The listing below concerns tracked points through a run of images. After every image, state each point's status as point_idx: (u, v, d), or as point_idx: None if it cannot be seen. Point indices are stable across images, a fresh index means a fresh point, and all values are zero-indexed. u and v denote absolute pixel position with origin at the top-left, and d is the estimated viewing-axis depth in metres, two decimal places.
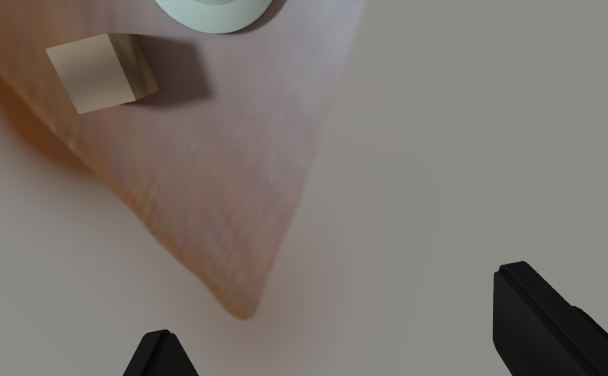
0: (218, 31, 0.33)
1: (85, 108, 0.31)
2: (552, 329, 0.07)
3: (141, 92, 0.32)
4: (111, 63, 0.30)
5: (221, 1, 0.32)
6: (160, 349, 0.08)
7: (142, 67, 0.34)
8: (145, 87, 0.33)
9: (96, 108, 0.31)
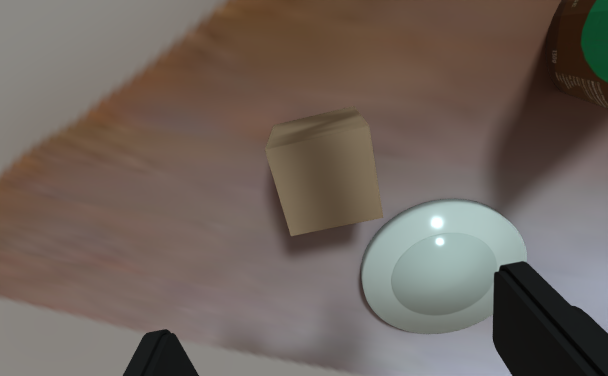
0: (364, 278, 0.28)
1: (274, 162, 0.19)
2: (552, 329, 0.07)
3: None
4: (343, 215, 0.20)
5: (394, 285, 0.28)
6: (160, 349, 0.08)
7: None
8: None
9: (276, 179, 0.19)
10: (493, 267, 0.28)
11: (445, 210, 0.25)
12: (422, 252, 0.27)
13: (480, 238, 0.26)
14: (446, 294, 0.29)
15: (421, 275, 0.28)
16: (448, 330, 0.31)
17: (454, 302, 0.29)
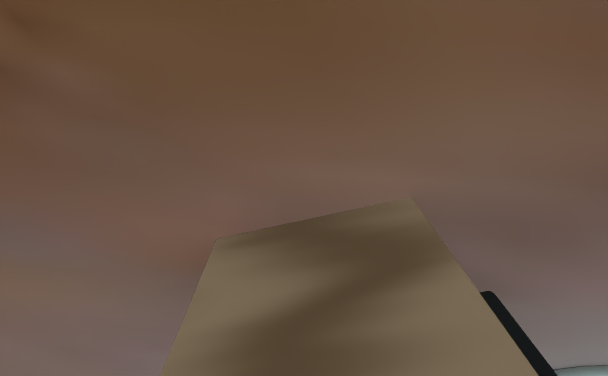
0: None
1: None
2: None
3: None
4: None
5: None
6: None
7: None
8: None
9: None
10: None
11: None
12: None
13: None
14: None
15: None
16: None
17: None
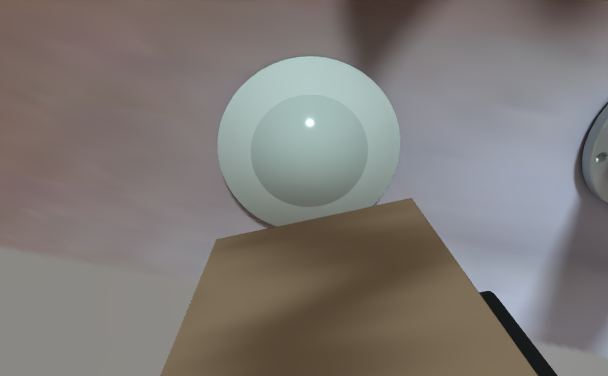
0: (221, 159, 0.25)
1: None
2: None
3: None
4: None
5: (256, 166, 0.25)
6: None
7: None
8: None
9: None
10: (363, 141, 0.24)
11: (294, 63, 0.22)
12: (278, 122, 0.23)
13: (341, 102, 0.23)
14: (317, 178, 0.26)
15: (283, 153, 0.24)
16: None
17: (328, 189, 0.26)
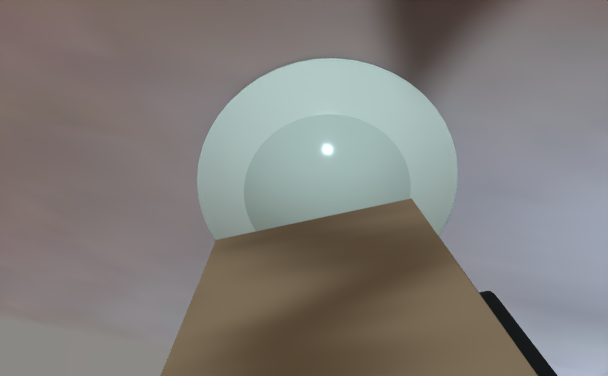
0: (202, 201, 0.18)
1: None
2: None
3: None
4: None
5: (251, 212, 0.18)
6: None
7: None
8: None
9: None
10: (405, 180, 0.17)
11: (309, 69, 0.15)
12: (284, 152, 0.16)
13: (376, 125, 0.16)
14: None
15: (290, 194, 0.17)
16: None
17: None
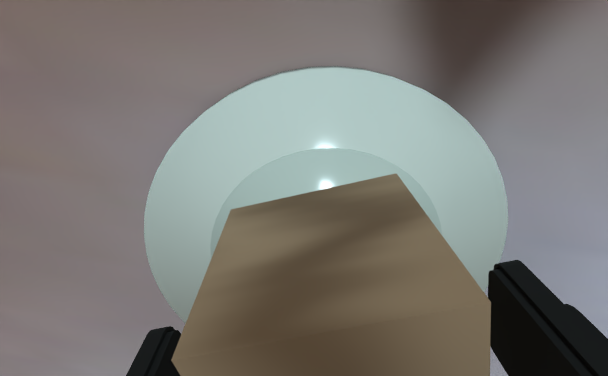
0: (154, 264, 0.13)
1: None
2: (545, 327, 0.07)
3: None
4: None
5: None
6: (165, 346, 0.09)
7: None
8: None
9: None
10: None
11: (299, 84, 0.10)
12: (265, 200, 0.11)
13: (397, 163, 0.11)
14: None
15: None
16: None
17: None
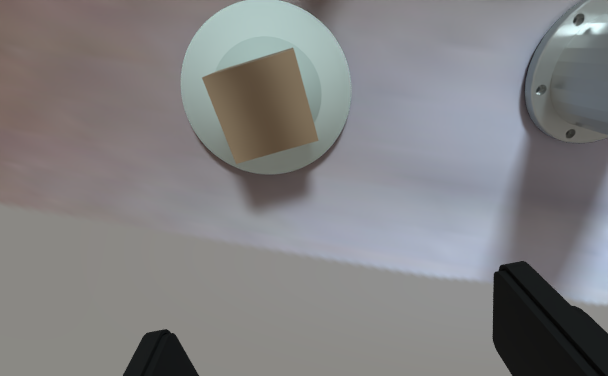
0: (185, 104, 0.27)
1: (212, 89, 0.20)
2: (552, 329, 0.07)
3: None
4: (281, 139, 0.22)
5: None
6: (160, 349, 0.08)
7: None
8: None
9: (215, 107, 0.21)
10: (316, 81, 0.26)
11: (245, 6, 0.24)
12: (235, 64, 0.25)
13: (292, 42, 0.25)
14: None
15: None
16: (292, 168, 0.29)
17: None
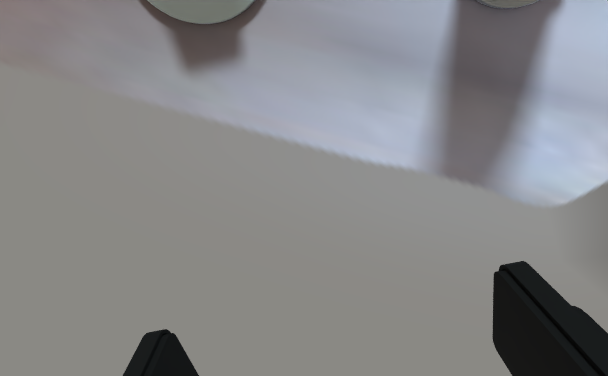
0: None
1: None
2: (552, 329, 0.07)
3: None
4: None
5: None
6: (160, 349, 0.08)
7: None
8: None
9: None
10: None
11: None
12: None
13: None
14: None
15: None
16: (220, 18, 0.30)
17: None
